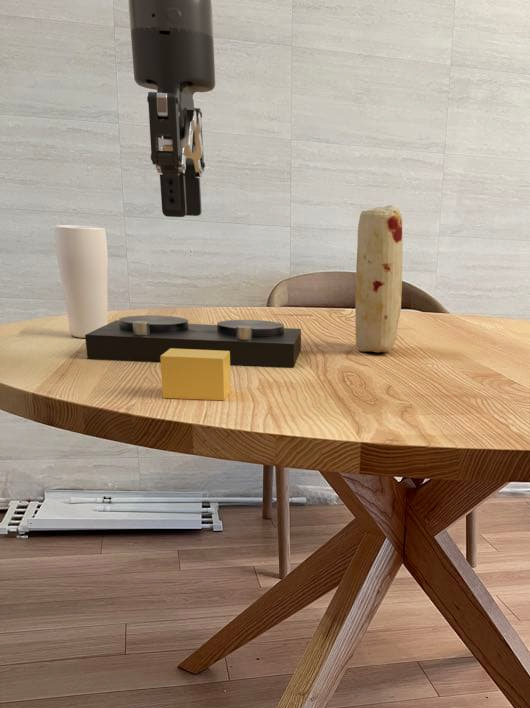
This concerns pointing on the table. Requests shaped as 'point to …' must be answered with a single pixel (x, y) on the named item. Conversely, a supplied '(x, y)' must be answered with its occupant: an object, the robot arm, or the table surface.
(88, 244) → the drinking glass
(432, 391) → the table surface
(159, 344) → the stove
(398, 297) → the food model
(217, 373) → the cheese
